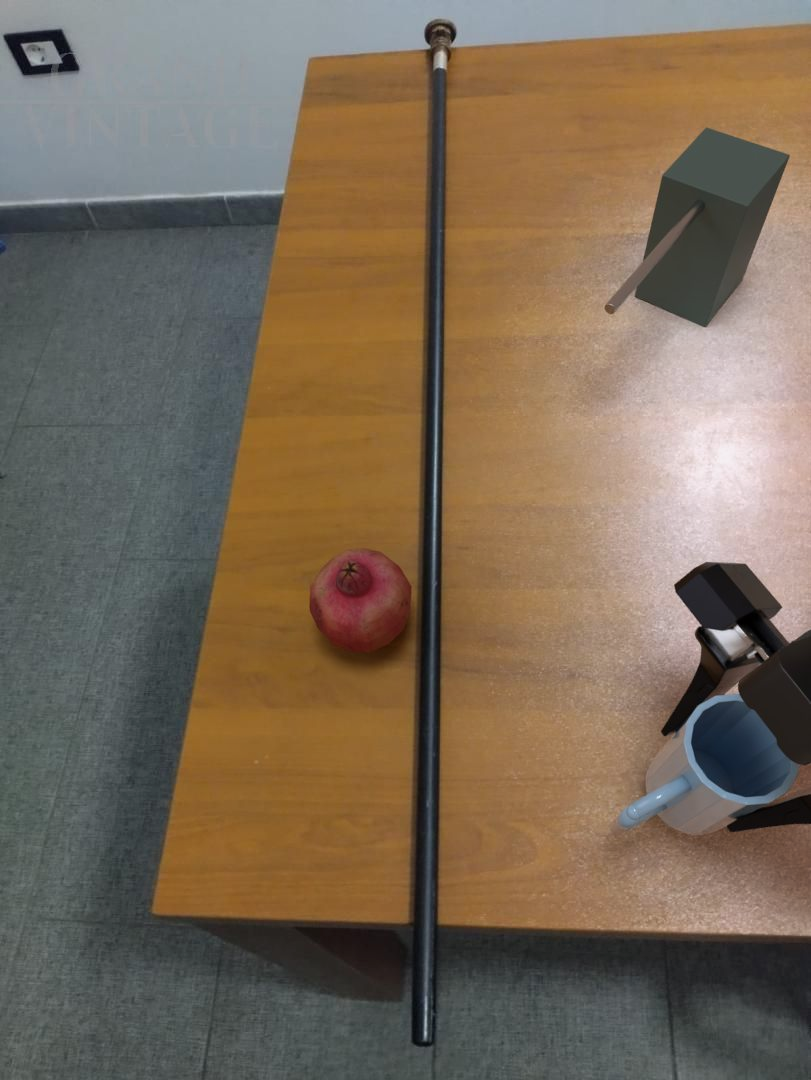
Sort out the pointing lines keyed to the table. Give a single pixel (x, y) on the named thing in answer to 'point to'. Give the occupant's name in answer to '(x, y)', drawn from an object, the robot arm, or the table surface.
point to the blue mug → (712, 771)
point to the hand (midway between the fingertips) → (696, 778)
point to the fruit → (360, 600)
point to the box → (705, 225)
